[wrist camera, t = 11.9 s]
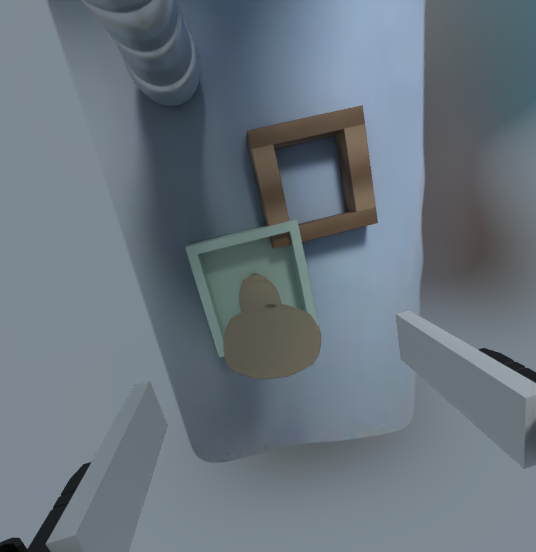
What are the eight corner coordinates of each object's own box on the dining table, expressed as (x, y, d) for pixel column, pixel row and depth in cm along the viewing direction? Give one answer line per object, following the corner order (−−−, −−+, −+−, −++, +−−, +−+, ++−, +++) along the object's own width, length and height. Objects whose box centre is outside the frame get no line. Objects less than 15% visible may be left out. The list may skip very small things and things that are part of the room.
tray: (189, 244, 31) (184, 247, 28) (291, 219, 32) (297, 219, 29) (220, 345, 34) (219, 357, 31) (312, 320, 35) (319, 330, 32)
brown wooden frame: (246, 137, 29) (247, 130, 27) (352, 114, 30) (362, 105, 27) (271, 246, 32) (274, 248, 29) (367, 222, 33) (377, 222, 30)
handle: (282, 303, 33) (320, 373, 19) (228, 306, 32) (225, 383, 18) (281, 264, 32) (321, 306, 17) (226, 266, 31) (220, 313, 17)
